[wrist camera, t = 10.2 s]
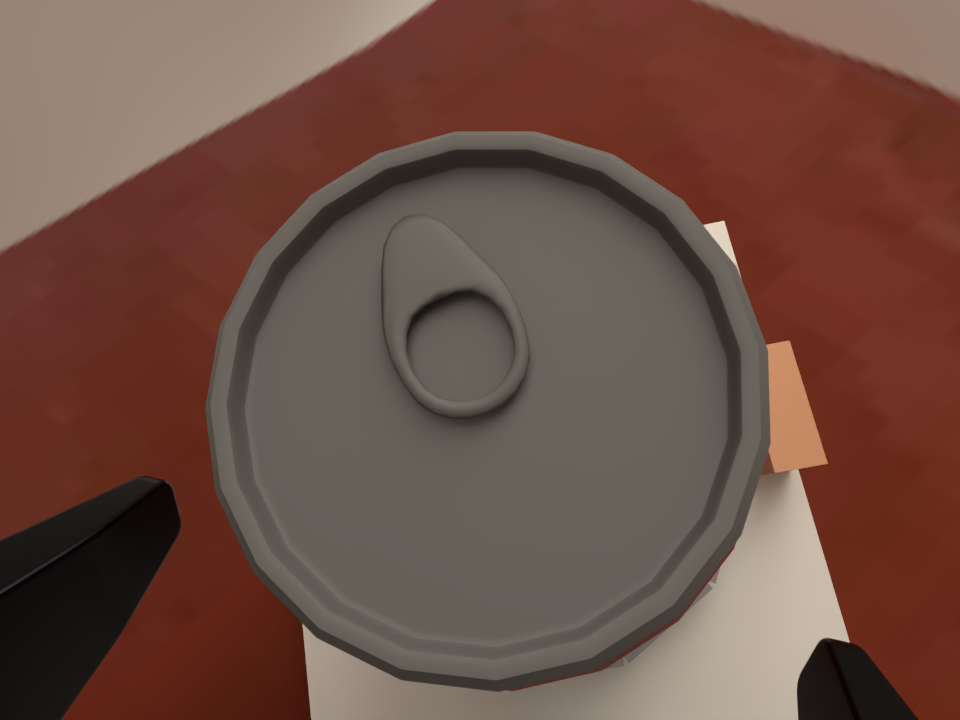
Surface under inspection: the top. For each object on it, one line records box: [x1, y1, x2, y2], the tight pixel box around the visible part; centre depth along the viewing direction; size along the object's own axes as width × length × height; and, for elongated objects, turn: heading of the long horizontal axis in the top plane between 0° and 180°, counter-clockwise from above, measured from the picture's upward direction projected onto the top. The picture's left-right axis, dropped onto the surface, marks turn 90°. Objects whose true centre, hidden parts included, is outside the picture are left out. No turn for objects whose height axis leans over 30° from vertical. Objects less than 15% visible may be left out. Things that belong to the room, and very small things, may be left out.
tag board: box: [302, 221, 850, 720], centre depth 15 cm, size 24×14×3 cm, turn 10°
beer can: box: [205, 132, 771, 692], centre depth 12 cm, size 7×7×12 cm
